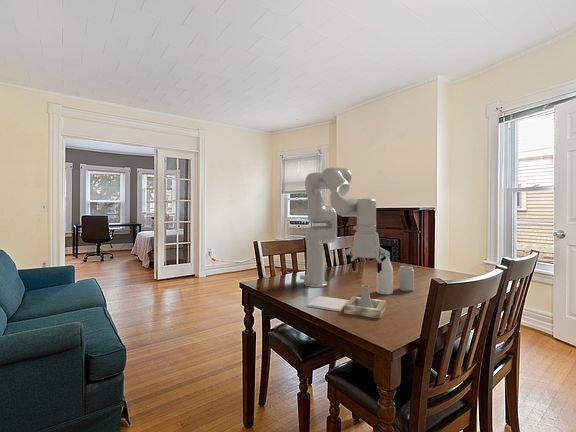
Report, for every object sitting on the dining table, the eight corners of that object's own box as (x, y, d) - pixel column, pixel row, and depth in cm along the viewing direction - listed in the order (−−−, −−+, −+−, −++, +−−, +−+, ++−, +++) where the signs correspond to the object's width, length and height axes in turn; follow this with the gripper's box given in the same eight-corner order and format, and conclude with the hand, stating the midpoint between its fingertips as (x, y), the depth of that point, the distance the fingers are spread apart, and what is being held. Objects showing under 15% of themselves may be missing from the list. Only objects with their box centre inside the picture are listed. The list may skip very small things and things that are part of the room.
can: (413, 288, 159) (413, 265, 159) (414, 292, 152) (414, 268, 151) (398, 287, 161) (398, 264, 161) (398, 291, 154) (398, 267, 154)
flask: (354, 307, 129) (354, 284, 129) (371, 307, 130) (371, 283, 129) (359, 313, 122) (359, 288, 122) (377, 313, 123) (377, 288, 122)
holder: (343, 313, 123) (344, 305, 123) (352, 303, 135) (352, 296, 135) (380, 318, 117) (380, 310, 116) (385, 307, 129) (386, 300, 129)
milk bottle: (393, 295, 147) (394, 253, 146) (376, 294, 149) (377, 252, 148) (391, 291, 155) (392, 251, 154) (375, 290, 156) (376, 250, 155)
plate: (307, 306, 130) (307, 304, 130) (318, 297, 143) (318, 295, 143) (339, 311, 124) (339, 309, 124) (348, 301, 137) (348, 300, 137)
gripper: (342, 229, 125) (343, 271, 125) (387, 230, 118) (387, 275, 118) (347, 228, 132) (347, 268, 132) (390, 229, 124) (390, 271, 125)
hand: (366, 271), depth 125 cm, fingers open, 9 cm apart
